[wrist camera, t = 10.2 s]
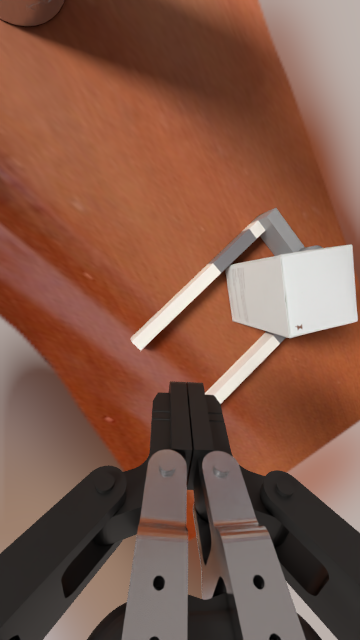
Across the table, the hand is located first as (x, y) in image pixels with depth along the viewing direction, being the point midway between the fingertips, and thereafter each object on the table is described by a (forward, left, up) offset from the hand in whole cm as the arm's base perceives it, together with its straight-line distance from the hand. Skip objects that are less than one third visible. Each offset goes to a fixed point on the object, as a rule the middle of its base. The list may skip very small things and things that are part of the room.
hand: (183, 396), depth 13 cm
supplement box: (+7, +14, -22) cm, 27 cm away
